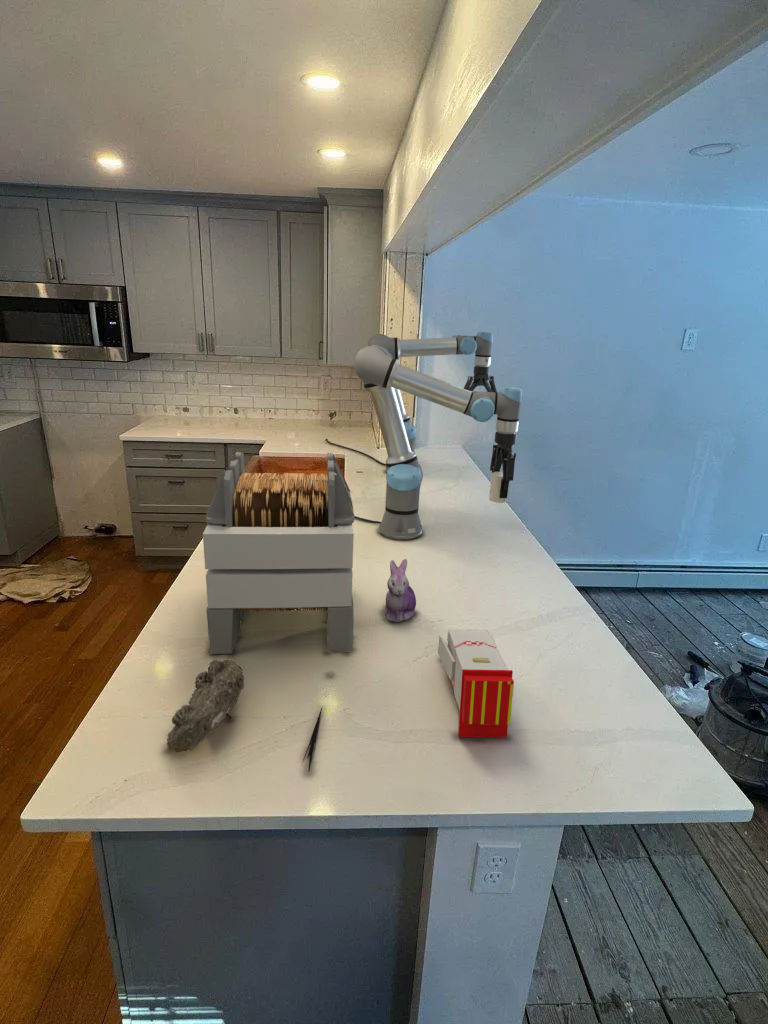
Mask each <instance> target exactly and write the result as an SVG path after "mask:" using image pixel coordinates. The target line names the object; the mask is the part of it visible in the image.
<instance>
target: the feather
mask: <svg viewBox="0 0 768 1024" xmlns="http://www.w3.org/2000/svg"><path fill="white" fill-rule="evenodd" d="M329 675H330V676H331V675H332V674H331V673H330V674H329ZM322 710H323V707H321V708H320V710H319V713H318V716H317V719H316V723H315V725H314V728H313V731H312V733H311V737H310V739H309V742H308V745H307V748H306V751H305V754H304V757H303V760H302V763H301V767H302V765H303V763H304V761H305V758H308V759H309V760H308V762H307V763H308V764H307V766H308V771H310V770H311V766H312V765H311V764H312V760H313V757H315V756H314V755H315V751H316V749H315V746H317V739H318V733H319V729H320V722H321V717H322V712H323V711H322ZM313 754H314V755H313ZM306 755H307V757H306Z"/></svg>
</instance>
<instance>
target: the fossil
mask: <svg viewBox="0 0 768 1024" xmlns="http://www.w3.org/2000/svg"><path fill="white" fill-rule="evenodd" d="M243 670H244V669H243V667H242V665H240V664H237V662H236V661H235V660H234V659H232V658H231V659H227V658H226V659H224V660H223V661H222V660H217V659H212V660H211V661H210V663H209V665H208V666H207V671H201V672H199V673H198V674H197V675H196V676H195V680H194V684H195V685H194V687H195V689H194V690H193V693H192V694H191V697H190V698H189V700H188V704H184V705H182V706H181V707H180V709H177V710H176V711H175V713H174V715H173V716H172V718H171V723H172V724H173V727H172V730H171V731H170V732H168V734H167V738H166V741H167V742H166V745H167V749H168V750H169V751H173V752H174V753H176V754H178V753H182V752H188V751H189V752H192V751H193V750H195V748H196V747H197V746H199V744H200V743H201V742H203V741H204V740H205V739H206V738H207V737H208V736H209V735H210V734H211V733H212V732H214V730H215V729H217V727H218V726H219V724H220V722H221V721H222V720H223V719H224V718H225V716H226V717H227V719H229V720H233V717H232V715H230V714H229V710H230V709H231V708H234V706H235V704H236V703H237V702H238V699H239V697H240V695H241V693H242V691H243V690H245V689H244V688H245V675H244V671H243Z"/></svg>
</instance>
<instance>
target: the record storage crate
mask: <svg viewBox="0 0 768 1024" xmlns="http://www.w3.org/2000/svg"><path fill="white" fill-rule="evenodd" d="M244 455H245V454H244V451H242V452H241V451H236V452H235V454H234V456H233V458H232V459H230V463H229V465H228V467H227V469H226V470H224V473H223V475H222V478H221V479H220V482H219V484H218V487H217V489H216V491H215V494H214V495H213V497H212V500H211V502H210V505H209V507H208V509H207V511H206V515H205V523H206V524H207V525H206V527H205V529H204V531H203V533H202V543H203V558H204V569H205V570H206V573H205V584H206V587H205V588H206V598H207V599H206V601H207V607H206V623H207V634H208V641H209V642H208V643H209V650H208V653H209V655H216V654H217V655H218V654H221V655H222V654H223V655H226V654H227V655H228V654H230V655H231V654H232V653H233V650H234V648H235V647H236V643H237V641H238V638H239V636H240V634H241V630H242V626H241V625H242V623H241V622H243V621H244V618H245V615H246V612H272V611H273V612H279V611H280V612H284V611H286V612H288V611H289V612H291V611H292V612H293V611H294V612H295V611H303V612H304V611H322V610H323V611H326V636H327V637H326V641H327V645H326V646H327V652H329V653H330V652H332V653H333V652H343V653H349V652H351V651H352V650H354V617H355V616H354V614H355V607H354V598H353V575H354V573H353V566H354V563H353V562H354V537H355V536H354V535H355V532H354V527H353V524H354V522H355V518H354V516H355V511H354V506H353V505H354V504H353V500H352V495H351V489H350V487H349V485H348V483H347V480H346V479H345V476H344V474H343V472H342V470H341V467H340V465H339V463H338V461H337V459H336V457H335V455H334V453H333V452H327V453H326V456H327V457H326V468H327V469H326V473H320V474H318V473H307V474H306V473H303V472H302V473H299V472H298V473H297V472H294V473H293V472H292V473H291V472H290V473H288V472H283V473H276V472H273V473H271V472H263V473H262V472H259V473H258V472H253V473H252V472H245V468H246V467H245V456H244Z"/></svg>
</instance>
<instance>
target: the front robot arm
mask: <svg viewBox="0 0 768 1024" xmlns="http://www.w3.org/2000/svg"><path fill="white" fill-rule="evenodd" d="M353 368H354V369H353V370H354V372H355V374H356V376H357V377H358V378H359V379H361V381H362V384H363V388H364V390H365V391H368V392H369V393H370V396H371V400H372V404H373V407H374V411H375V415H376V418H377V422H378V425H379V428H380V432H381V436H382V440H383V443H384V446H385V450H386V454H387V458H386V459H385V464H386V466H387V469H388V471H387V473H386V475H385V481H386V486H385V487H386V488H385V504H384V505H385V507H384V508H385V509H384V513H383V515H382V519H381V521H379V520H372V519H367V518H364V517H359V516H356V515H354V519H356V520H359V521H363V522H368V523H371V524H379V527H378V533H379V534H380V535H381V536H382V537H385V538H387V539H389V540H395V541H410V540H415V539H418V538H420V537H421V536H422V535H423V525H422V524H421V518H420V515H419V507H420V506H419V505H420V492H421V486H422V481H423V477H424V472H423V467H422V466H421V464H420V463H419V459H418V455H417V453H416V452H413V451H411V449H410V445H409V441H408V437H407V434H406V430H405V426H404V422H403V419H402V415H401V411H400V407H399V404H398V400H397V396H396V392H395V389H394V388H396V389H399V390H400V392H401V391H402V392H405V393H406V394H410V395H412V396H415V397H417V398H421V399H423V400H425V401H427V402H432V403H433V404H437V405H439V406H442V407H444V408H447V409H450V410H453V411H455V412H457V413H461V414H463V415H465V416H468V417H470V418H472V419H474V420H475V421H477V422H479V423H487V422H488V421H490V420H491V419H492V418H493V417H494V415H496V423H495V433H494V439H493V440H494V443H495V444H493V445H492V452H491V453H492V454H491V460H490V466H489V470H490V471H491V474H492V473H493V472H501V468H502V472H503V479H501V488H500V496H499V498H507V495H508V496H509V492H508V487H509V488H510V484H509V481H510V482H512V481H514V474H515V464H516V458H517V453H516V452H513V446H514V445H516V444H517V438H518V434H517V433H518V430H519V425H520V422H519V421H520V415H521V407H522V398H523V397H522V396H523V391H522V389H521V388H520V387H516V386H501V387H500V389H499V391H497V393H496V392H495V393H494V392H487V391H481V390H480V391H479V390H473V391H468V390H466V389H463V388H464V387H460V386H458V385H455V384H452V383H450V382H448V381H444V380H442V379H439V378H436V377H435V376H431V375H429V374H426V373H423V372H421V371H418V370H416V369H413V368H410V367H408V366H405V365H402V364H400V362H399V359H398V360H395V359H393V357H392V355H391V353H390V352H389V350H388V349H387V348H385V347H384V346H381V345H377V344H374V345H370V346H368V345H367V346H365V347H363V348H361V349H360V350H359V351H358V352H357V353H356V354H355V356H354V360H353ZM386 466H385V467H386Z"/></svg>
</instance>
